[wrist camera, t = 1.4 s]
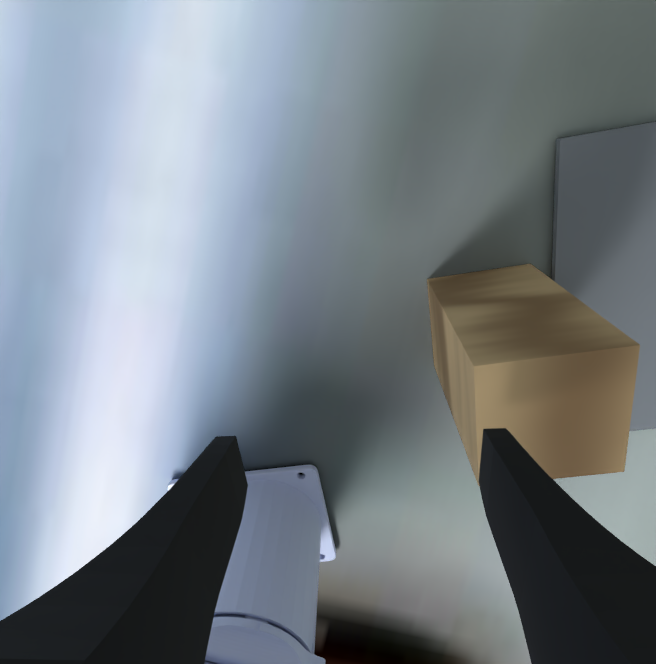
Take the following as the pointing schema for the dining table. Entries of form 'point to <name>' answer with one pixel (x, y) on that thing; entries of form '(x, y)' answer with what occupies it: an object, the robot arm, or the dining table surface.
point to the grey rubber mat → (612, 239)
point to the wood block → (533, 369)
